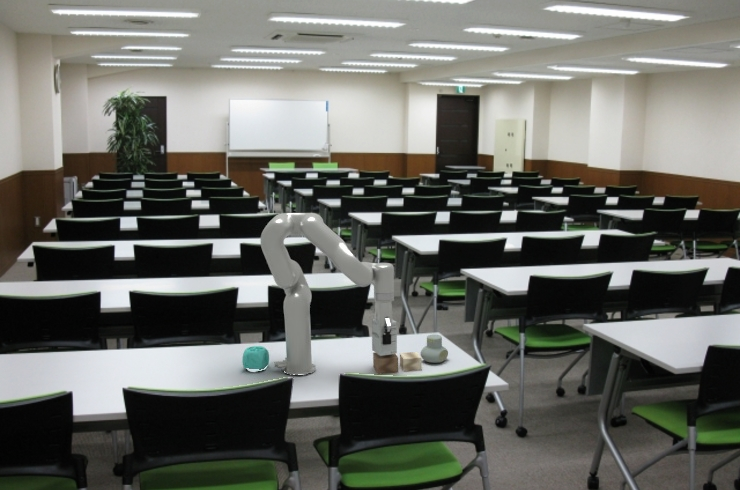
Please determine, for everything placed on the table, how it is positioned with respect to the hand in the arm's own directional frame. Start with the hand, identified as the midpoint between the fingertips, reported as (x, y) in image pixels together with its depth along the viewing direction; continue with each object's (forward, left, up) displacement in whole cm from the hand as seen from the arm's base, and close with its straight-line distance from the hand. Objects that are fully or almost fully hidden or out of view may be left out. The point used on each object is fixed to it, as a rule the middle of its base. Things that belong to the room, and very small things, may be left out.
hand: (384, 340), depth 276 cm
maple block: (+10, 0, -12) cm, 16 cm away
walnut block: (0, 0, -12) cm, 12 cm away
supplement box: (0, 0, -5) cm, 5 cm away
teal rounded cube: (-48, +13, -12) cm, 51 cm away
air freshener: (+21, +5, -12) cm, 25 cm away
